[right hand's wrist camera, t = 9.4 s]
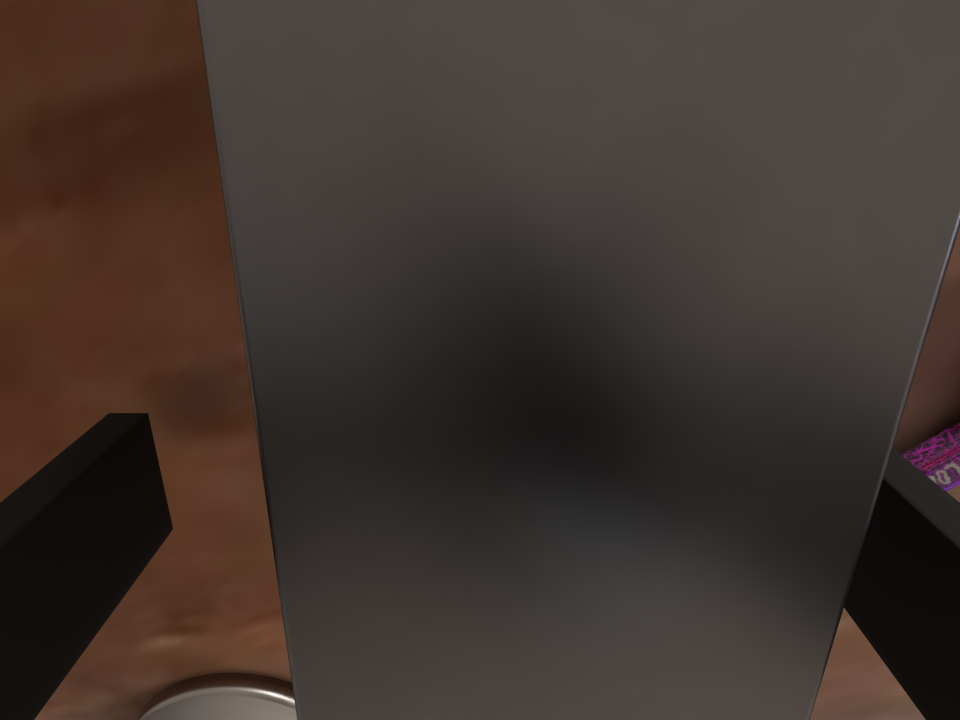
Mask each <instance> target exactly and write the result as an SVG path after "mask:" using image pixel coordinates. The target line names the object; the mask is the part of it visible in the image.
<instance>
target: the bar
mask: <svg viewBox="0 0 960 720" xmlns="http://www.w3.org/2000/svg"><path fill="white" fill-rule="evenodd" d="M196 4H197V12H198V19H199V26H200V33H201V40H202V47H203V54H204V61H205V68H206V75H207V83H208V90H209V97H210V104H211V111H212V118H213V125H214V132H215V139H216V147H217V154H218V161H219V168H220V175H221V182H222V189H223V196H224V203H225V210H226V218H227V225H228V232H229V239H230V246H231V253H232V260H233V267H234V274H235V282H236V289H237V296H238V303H239V310H240V317H241V324H242V331H243V338H244V345H245V353H246V360H247V367H248V374H249V381H250V388H251V395H252V402H253V409H254V417H255V424H256V431H257V438H258V445H259V452H260V459H261V466H262V473H263V480H264V488H265V495H266V502H267V509H268V516H269V523H270V530H271V537H272V544H273V551H274V559H275V566H276V573H277V580H278V587H279V594H280V601H281V608H282V615H283V623H284V630H285V637H286V644H287V651H288V658H289V665H290V672H291V679H292V686H293V694H294V701H295V708H296V715H297V720H810V717H811V713H812V710H813V707H814V704H815V700H816V697H817V694H818V690H819V687H820V684H821V681H822V677H823V674H824V671H825V667H826V664H827V661H828V657H829V654H830V651H831V648H832V644H833V641H834V638H835V634H836V631H837V628H838V625H839V621H840V618H841V615H842V611H843V608H844V605H845V602H846V598H847V595H848V592H849V588H850V585H851V582H852V579H853V575H854V572H855V569H856V565H857V562H858V559H859V556H860V552H861V549H862V546H863V542H864V539H865V536H866V532H867V529H868V526H869V523H870V519H871V516H872V513H873V509H874V506H875V503H876V500H877V496H878V493H879V490H880V486H881V483H882V480H883V477H884V473H885V470H886V467H887V463H888V460H889V457H890V454H891V450H892V447H893V444H894V440H895V437H896V434H897V431H898V427H899V424H900V421H901V417H902V414H903V411H904V408H905V404H906V401H907V398H908V394H909V391H910V388H911V384H912V381H913V378H914V375H915V371H916V368H917V365H918V361H919V358H920V355H921V352H922V348H923V345H924V342H925V338H926V335H927V332H928V329H929V325H930V322H931V319H932V315H933V312H934V309H935V306H936V302H937V299H938V296H939V292H940V289H941V286H942V283H943V279H944V276H945V273H946V269H947V266H948V263H949V259H950V256H951V253H952V250H953V246H954V243H955V240H956V236H957V233H958V230H959V227H960V0H196Z"/></svg>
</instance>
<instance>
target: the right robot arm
mask: <svg viewBox="0 0 960 720" xmlns="http://www.w3.org/2000/svg"><path fill="white" fill-rule="evenodd" d="M172 530H173V527H172V522H171V518H170V513H169V508H168V504H167V499H166V495H165V490H164V485H163V481H162V476H161V471H160V467H159V462H158V458H157V453H156V448H155V444H154V439H153V434H152V430H151V425H150V421H149V416H148V413H109V414H108V415H106V416H105V417H104V418H103V419H102V420H100V421H99V422H98V423H97V424H95V425H94V426H93V427H92V428H91V429H89V430H88V431H87V432H86V433H85V434H83V435H82V436H81V437H80V438H78V439H77V440H76V441H75V442H74V443H72V444H71V445H70V446H69V447H68V448H66V449H65V450H64V451H63V452H61V453H60V454H59V455H58V456H57V457H55V458H54V459H53V460H52V461H51V462H49V463H48V464H47V465H46V466H44V467H43V468H42V469H41V470H40V471H38V472H37V473H36V474H35V475H34V476H32V477H31V478H30V479H29V480H27V481H26V482H25V483H24V484H23V485H21V486H20V487H19V488H18V489H17V490H15V491H14V492H13V493H12V494H10V495H9V496H8V497H7V498H6V499H4V500H3V501H2V502H1V503H0V720H34V719H35V718H36V716H37V715H38V714H39V712H40V711H41V709H42V708H43V707H44V705H45V704H46V703H47V701H48V700H49V698H50V697H51V696H52V694H53V693H54V692H55V690H56V689H57V687H58V686H59V685H60V683H61V682H62V681H63V679H64V678H65V677H66V675H67V674H68V672H69V671H70V670H71V668H72V667H73V666H74V664H75V663H76V661H77V660H78V659H79V657H80V656H81V655H82V653H83V652H84V650H85V649H86V648H87V646H88V645H89V644H90V642H91V641H92V639H93V638H94V637H95V635H96V634H97V633H98V631H99V630H100V628H101V627H102V626H103V624H104V623H105V622H106V620H107V619H108V618H109V616H110V615H111V613H112V612H113V611H114V609H115V608H116V607H117V605H118V604H119V602H120V601H121V600H122V598H123V597H124V596H125V594H126V593H127V591H128V590H129V589H130V587H131V586H132V585H133V583H134V582H135V580H136V579H137V578H138V576H139V575H140V574H141V572H142V571H143V569H144V568H145V567H146V565H147V564H148V563H149V561H150V560H151V559H152V557H153V556H154V554H155V553H156V552H157V550H158V549H159V548H160V546H161V545H162V543H163V542H164V541H165V539H166V538H167V537H168V535H169V534H170V532H171V531H172ZM844 608H845V609H846V611H847V612H848V613H849V615H850V616H851V618H852V619H853V620H854V622H855V623H856V624H857V626H858V627H859V628H860V630H861V631H862V633H863V634H864V635H865V637H866V638H867V639H868V641H869V642H870V644H871V645H872V646H873V648H874V649H875V650H876V652H877V653H878V655H879V656H880V657H881V659H882V660H883V661H884V663H885V664H886V666H887V667H888V668H889V670H890V671H891V672H892V674H893V675H894V677H895V678H896V679H897V681H898V682H899V683H900V685H901V686H902V687H903V689H904V690H905V692H906V693H907V694H908V696H909V697H910V698H911V700H912V701H913V703H914V704H915V705H916V707H917V708H918V709H919V711H920V712H921V714H922V715H923V716H924V718H925V719H926V720H960V503H959V502H958V501H957V500H956V499H954V498H953V497H952V496H951V495H950V494H948V493H947V492H946V491H945V490H943V489H942V488H941V487H940V486H939V485H937V484H936V483H935V482H934V481H933V480H931V479H930V478H929V477H928V476H926V475H925V474H924V473H923V472H922V471H920V470H919V469H918V468H917V467H916V466H914V465H913V464H912V463H911V462H909V461H908V460H907V459H906V458H905V457H903V456H902V455H901V454H900V453H899V452H897V451H896V450H895V449H894V448H892V450H891V454H890V457H889V460H888V463H887V467H886V470H885V473H884V477H883V480H882V483H881V486H880V490H879V493H878V496H877V500H876V503H875V506H874V509H873V513H872V516H871V519H870V523H869V526H868V529H867V532H866V536H865V539H864V542H863V546H862V549H861V552H860V556H859V559H858V562H857V565H856V569H855V572H854V575H853V579H852V582H851V585H850V588H849V592H848V595H847V598H846V602H845V605H844ZM138 720H297V715H296V708H295V701H294V694H293V686H292V683H289V682H286V681H282V680H279V679H275V678H271V677H266V676H261V675H253V674H242V673H221V674H211V675H204V676H199V677H195V678H191V679H188V680H185V681H182V682H179V683H177V684H175V685H173V686H171V687H169V688H167V689H165V690H164V691H162V692H161V693H159V694H158V695H157V696H155V697H154V698H153V699H152V700H151V701H150V702H149V703H148V704H147V706H146V707H145V708H144V709H143V711H142V713H141V714H140V716H139V718H138Z"/></svg>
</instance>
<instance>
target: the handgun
mask: <svg viewBox="0 0 960 720" xmlns="http://www.w3.org/2000/svg"><path fill="white" fill-rule="evenodd" d="M902 456H903V457H905V458H906V459H907V460H908V461H909V462H911V463H912V464H913V465H914V466H916V467H917V468H918V469H919V470H920V471H922V472H923V473H924V474H925V475H926V476H928V477H929V478H930V479H931V480H933V481H934V482H935V483H936V484H937V485H939V486H940V487H941V488H942V489H943V490H945V491H947V490H949V489H951V488H953V487H954V486H956V485H958V484H960V422H958V423H956V424H954V425H953V426H951V427H949V428H947V429H946V430H944V431H942V432H940V433H939V434H937V435H935V436H933V437H932V438H930V439H928V440H926V441H925V442H923V443H921V444H919V445H918V446H916V447H914V448H912V449H911V450H909V451H907V452H905V453H904V454H902Z"/></svg>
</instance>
